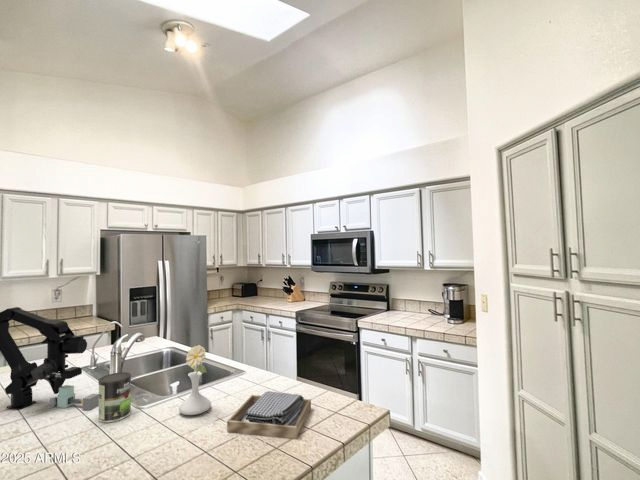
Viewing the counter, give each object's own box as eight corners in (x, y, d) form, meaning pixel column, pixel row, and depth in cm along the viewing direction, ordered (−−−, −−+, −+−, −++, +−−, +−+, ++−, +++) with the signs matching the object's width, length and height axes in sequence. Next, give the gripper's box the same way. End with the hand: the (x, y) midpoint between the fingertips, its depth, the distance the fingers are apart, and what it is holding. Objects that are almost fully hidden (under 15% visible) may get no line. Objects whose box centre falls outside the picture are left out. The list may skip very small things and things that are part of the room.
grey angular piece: (46, 408, 131) (46, 396, 131) (63, 400, 138) (63, 389, 138) (86, 412, 127) (86, 400, 127) (101, 403, 134) (101, 392, 134)
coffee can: (137, 410, 128) (137, 372, 128) (115, 424, 118) (115, 383, 118) (114, 408, 130) (114, 371, 130) (90, 421, 120) (91, 381, 120)
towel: (305, 412, 125) (305, 390, 125) (284, 438, 108) (283, 413, 108) (268, 406, 130) (268, 386, 130) (242, 431, 112) (242, 407, 113)
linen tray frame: (227, 432, 111) (227, 421, 112) (252, 404, 132) (251, 394, 132) (296, 438, 107) (296, 427, 107) (311, 408, 127) (310, 399, 127)
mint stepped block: (57, 407, 131) (57, 388, 132) (66, 402, 135) (66, 384, 136) (65, 408, 131) (65, 389, 131) (75, 403, 135) (75, 385, 135)
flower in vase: (173, 411, 126) (173, 344, 127) (202, 401, 135) (201, 338, 136) (189, 423, 118) (189, 350, 118) (219, 411, 126) (218, 343, 127)
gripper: (15, 359, 129) (15, 400, 128) (56, 361, 125) (56, 404, 124) (45, 350, 140) (44, 389, 139) (83, 352, 136) (82, 391, 135)
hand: (56, 393), depth 134 cm, fingers closed
